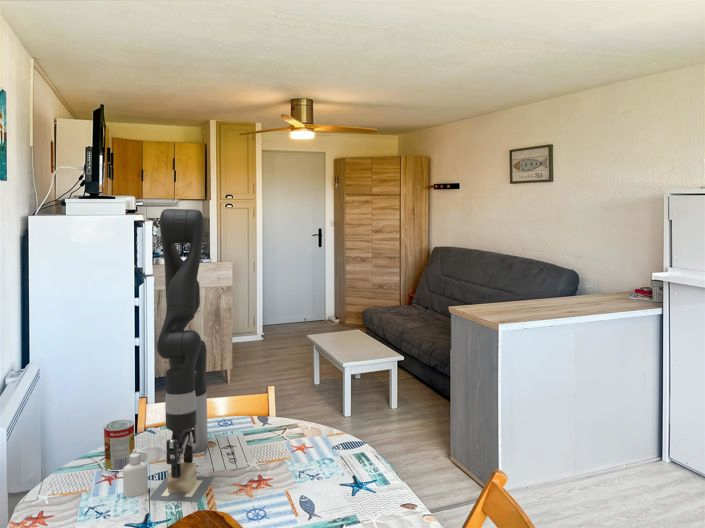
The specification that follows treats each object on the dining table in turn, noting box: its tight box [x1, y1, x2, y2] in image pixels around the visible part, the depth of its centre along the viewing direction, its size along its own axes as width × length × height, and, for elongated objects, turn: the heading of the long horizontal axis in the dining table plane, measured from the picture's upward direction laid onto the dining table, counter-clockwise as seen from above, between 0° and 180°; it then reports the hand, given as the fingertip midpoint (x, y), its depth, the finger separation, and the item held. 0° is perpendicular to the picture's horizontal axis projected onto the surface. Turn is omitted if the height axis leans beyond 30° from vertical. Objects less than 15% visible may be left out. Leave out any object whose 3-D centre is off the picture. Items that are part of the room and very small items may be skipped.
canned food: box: [103, 418, 136, 470], centre depth 154 cm, size 8×8×12 cm
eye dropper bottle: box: [122, 448, 149, 498], centre depth 138 cm, size 4×6×12 cm
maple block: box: [166, 461, 197, 494], centre depth 140 cm, size 6×6×6 cm
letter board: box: [147, 475, 216, 503], centre depth 141 cm, size 13×13×1 cm
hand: (182, 470), depth 140 cm, fingers open, 8 cm apart
